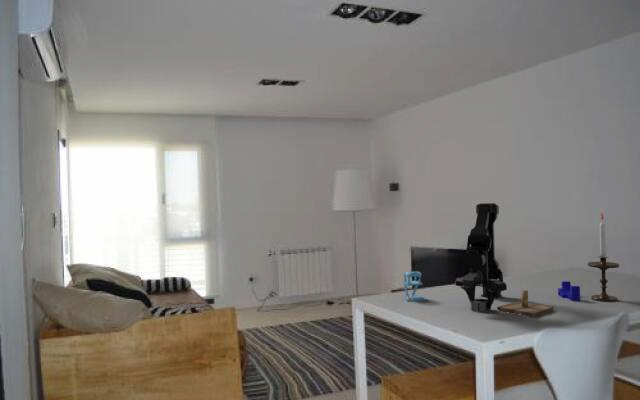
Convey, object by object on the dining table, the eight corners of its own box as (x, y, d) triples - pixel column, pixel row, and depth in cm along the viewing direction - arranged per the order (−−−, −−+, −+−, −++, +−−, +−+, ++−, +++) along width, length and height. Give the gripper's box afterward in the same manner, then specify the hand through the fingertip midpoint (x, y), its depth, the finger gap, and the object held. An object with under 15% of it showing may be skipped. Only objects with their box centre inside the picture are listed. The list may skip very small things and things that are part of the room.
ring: (467, 309, 181) (467, 300, 181) (478, 306, 185) (478, 297, 185) (483, 312, 175) (483, 303, 175) (494, 309, 179) (493, 300, 179)
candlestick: (590, 295, 200) (588, 212, 200) (620, 298, 193) (618, 211, 193) (587, 300, 191) (584, 213, 191) (619, 303, 185) (616, 212, 185)
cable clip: (558, 295, 203) (557, 281, 203) (569, 295, 202) (569, 281, 202) (568, 301, 191) (567, 286, 191) (580, 301, 190) (579, 286, 190)
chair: (418, 296, 208) (417, 268, 208) (425, 300, 199) (424, 271, 199) (400, 297, 206) (400, 269, 206) (407, 301, 198) (406, 272, 198)
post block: (497, 310, 178) (496, 290, 178) (517, 305, 186) (517, 285, 186) (533, 317, 167) (532, 296, 167) (553, 311, 175) (552, 290, 175)
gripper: (445, 265, 182) (447, 306, 183) (489, 270, 168) (490, 314, 168) (463, 262, 189) (464, 301, 189) (507, 267, 174) (508, 309, 174)
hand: (480, 306), depth 180 cm, fingers closed on ring, 7 cm apart
